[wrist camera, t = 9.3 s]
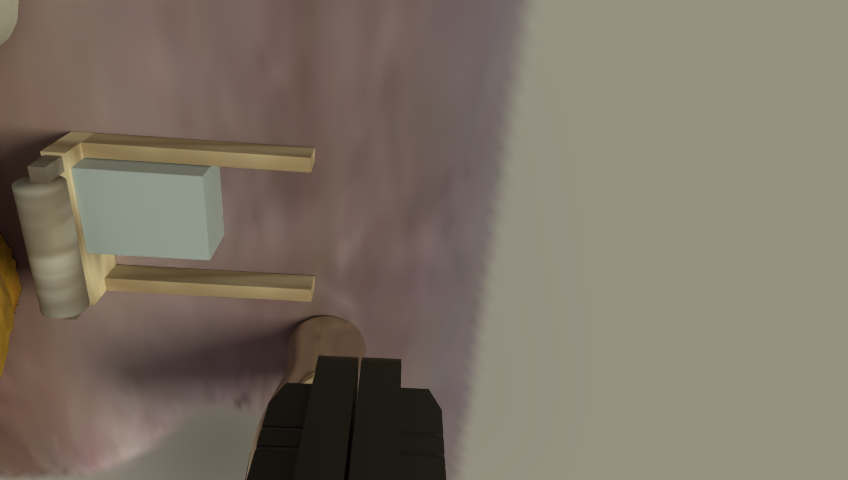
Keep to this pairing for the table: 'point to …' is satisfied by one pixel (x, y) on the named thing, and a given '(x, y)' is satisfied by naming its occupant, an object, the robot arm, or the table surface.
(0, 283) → the pitcher
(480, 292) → the table surface
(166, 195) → the pale teal block
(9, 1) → the can
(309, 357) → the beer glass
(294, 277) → the bay
